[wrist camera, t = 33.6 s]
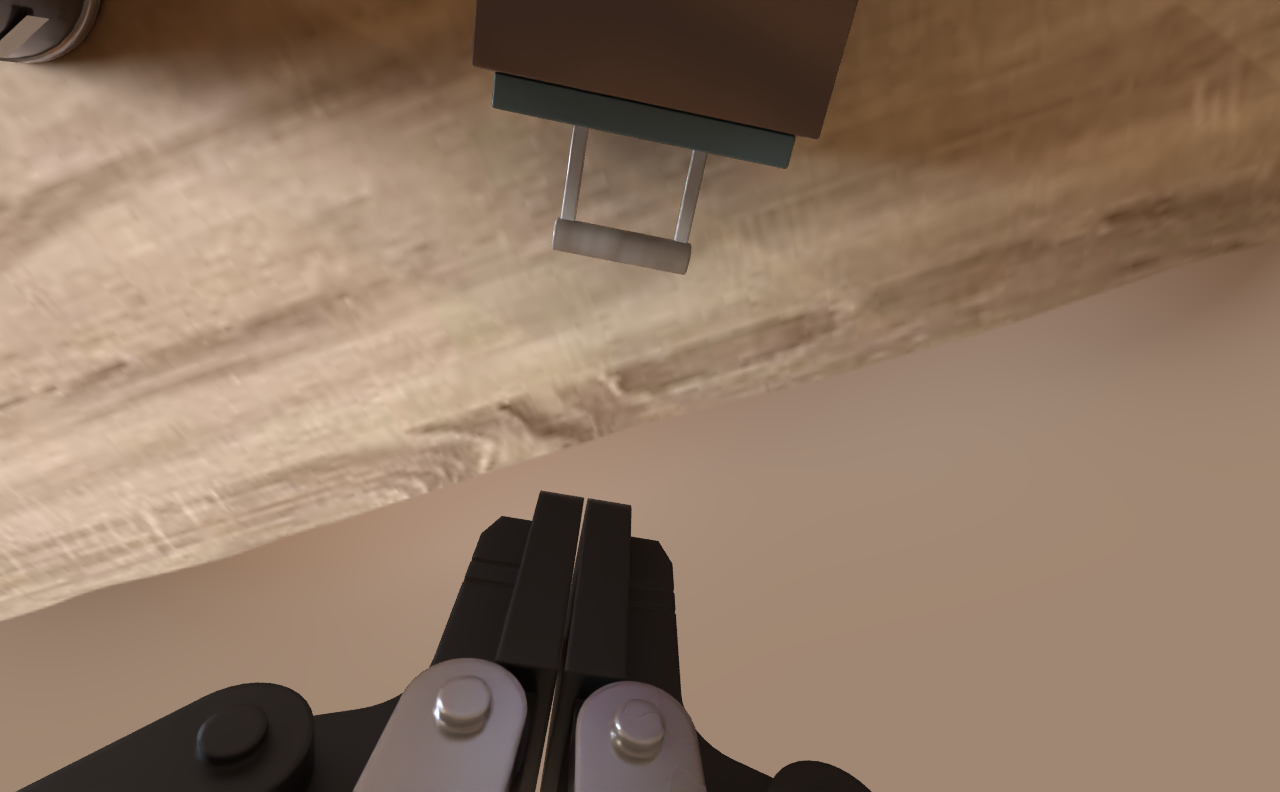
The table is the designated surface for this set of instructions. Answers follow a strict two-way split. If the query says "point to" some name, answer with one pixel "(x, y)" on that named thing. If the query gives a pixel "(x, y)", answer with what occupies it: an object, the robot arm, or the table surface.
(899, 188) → the table surface
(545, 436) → the table surface
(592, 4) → the cabinet
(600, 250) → the drawer
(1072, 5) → the table surface
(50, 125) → the table surface
